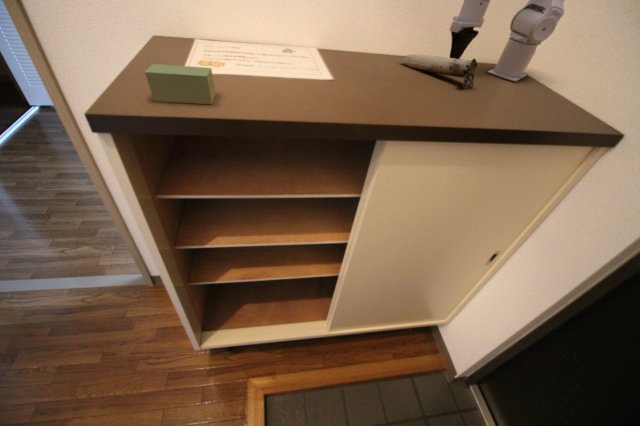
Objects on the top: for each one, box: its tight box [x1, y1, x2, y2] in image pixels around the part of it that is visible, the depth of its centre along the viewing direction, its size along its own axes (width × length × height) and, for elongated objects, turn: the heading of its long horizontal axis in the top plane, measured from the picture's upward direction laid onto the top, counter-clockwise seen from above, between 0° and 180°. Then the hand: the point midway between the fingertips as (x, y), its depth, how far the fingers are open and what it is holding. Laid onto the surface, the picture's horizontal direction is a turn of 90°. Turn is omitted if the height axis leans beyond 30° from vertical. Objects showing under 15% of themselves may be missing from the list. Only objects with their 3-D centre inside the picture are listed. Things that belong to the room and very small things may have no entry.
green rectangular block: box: [144, 63, 216, 105], centre depth 51 cm, size 4×10×5 cm, turn 95°
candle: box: [400, 53, 478, 90], centre depth 74 cm, size 6×20×6 cm, turn 36°
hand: (453, 59), depth 78 cm, fingers closed
